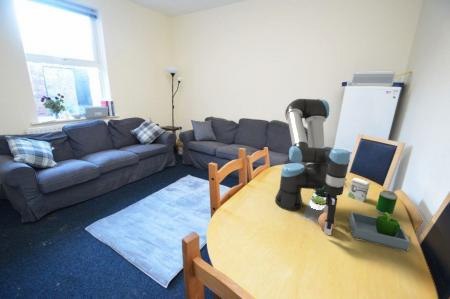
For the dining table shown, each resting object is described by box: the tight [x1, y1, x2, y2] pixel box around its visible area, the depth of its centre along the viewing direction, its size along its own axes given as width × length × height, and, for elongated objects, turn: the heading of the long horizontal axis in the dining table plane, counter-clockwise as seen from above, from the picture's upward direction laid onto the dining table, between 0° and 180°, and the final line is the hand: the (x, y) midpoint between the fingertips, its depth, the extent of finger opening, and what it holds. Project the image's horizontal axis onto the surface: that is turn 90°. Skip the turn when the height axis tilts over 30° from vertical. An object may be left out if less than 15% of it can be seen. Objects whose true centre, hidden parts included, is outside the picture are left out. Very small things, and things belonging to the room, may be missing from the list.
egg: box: [317, 212, 337, 230], centre depth 97 cm, size 7×7×8 cm
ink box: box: [347, 177, 371, 203], centre depth 126 cm, size 9×5×12 cm, turn 39°
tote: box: [348, 211, 411, 252], centre depth 95 cm, size 20×15×5 cm
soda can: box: [375, 189, 398, 216], centre depth 112 cm, size 8×8×12 cm
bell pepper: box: [376, 212, 401, 237], centre depth 93 cm, size 8×8×10 cm
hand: (326, 225), depth 98 cm, fingers open, 13 cm apart
